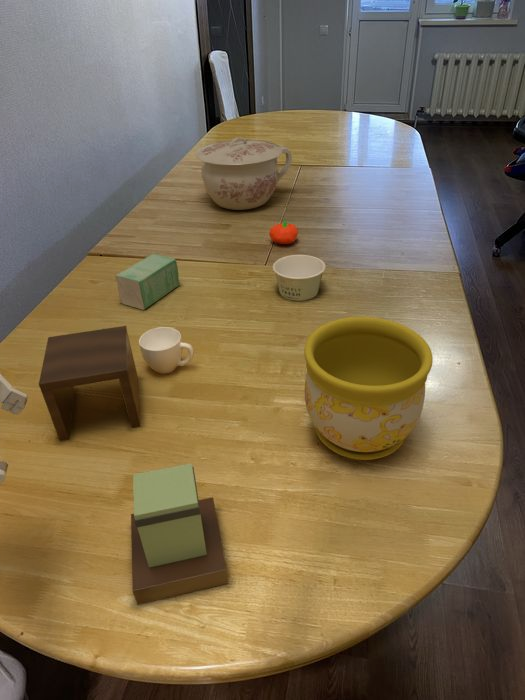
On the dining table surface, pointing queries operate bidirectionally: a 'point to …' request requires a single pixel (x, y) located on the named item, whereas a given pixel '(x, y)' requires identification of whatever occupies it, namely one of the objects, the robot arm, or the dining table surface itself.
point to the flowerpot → (365, 384)
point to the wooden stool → (87, 372)
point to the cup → (164, 349)
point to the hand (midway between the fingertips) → (14, 438)
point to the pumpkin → (283, 233)
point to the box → (147, 281)
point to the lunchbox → (168, 514)
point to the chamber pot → (242, 172)
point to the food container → (299, 276)
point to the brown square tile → (180, 564)
